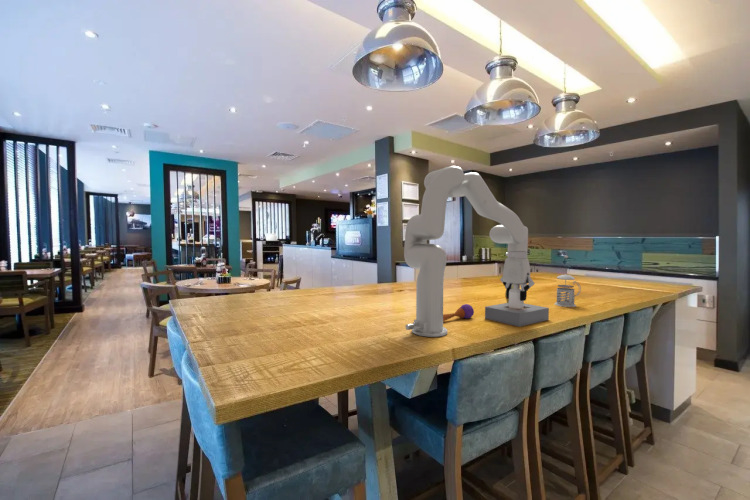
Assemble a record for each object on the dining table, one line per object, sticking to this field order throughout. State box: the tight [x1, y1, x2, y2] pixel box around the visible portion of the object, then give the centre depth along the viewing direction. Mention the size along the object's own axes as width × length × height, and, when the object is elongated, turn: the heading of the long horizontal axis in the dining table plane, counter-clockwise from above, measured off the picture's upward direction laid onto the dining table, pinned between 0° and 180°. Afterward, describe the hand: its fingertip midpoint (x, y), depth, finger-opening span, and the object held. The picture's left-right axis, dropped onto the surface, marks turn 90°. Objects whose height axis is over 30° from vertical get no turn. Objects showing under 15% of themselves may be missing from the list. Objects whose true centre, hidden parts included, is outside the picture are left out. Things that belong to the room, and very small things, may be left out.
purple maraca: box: [443, 303, 475, 322], centre depth 141 cm, size 6×6×20 cm
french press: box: [554, 255, 582, 308], centre depth 172 cm, size 10×12×25 cm
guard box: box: [484, 302, 550, 328], centre depth 142 cm, size 20×16×5 cm
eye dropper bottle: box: [509, 283, 525, 310], centre depth 142 cm, size 4×6×12 cm
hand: (516, 298), depth 142 cm, fingers closed on eye dropper bottle, 5 cm apart
